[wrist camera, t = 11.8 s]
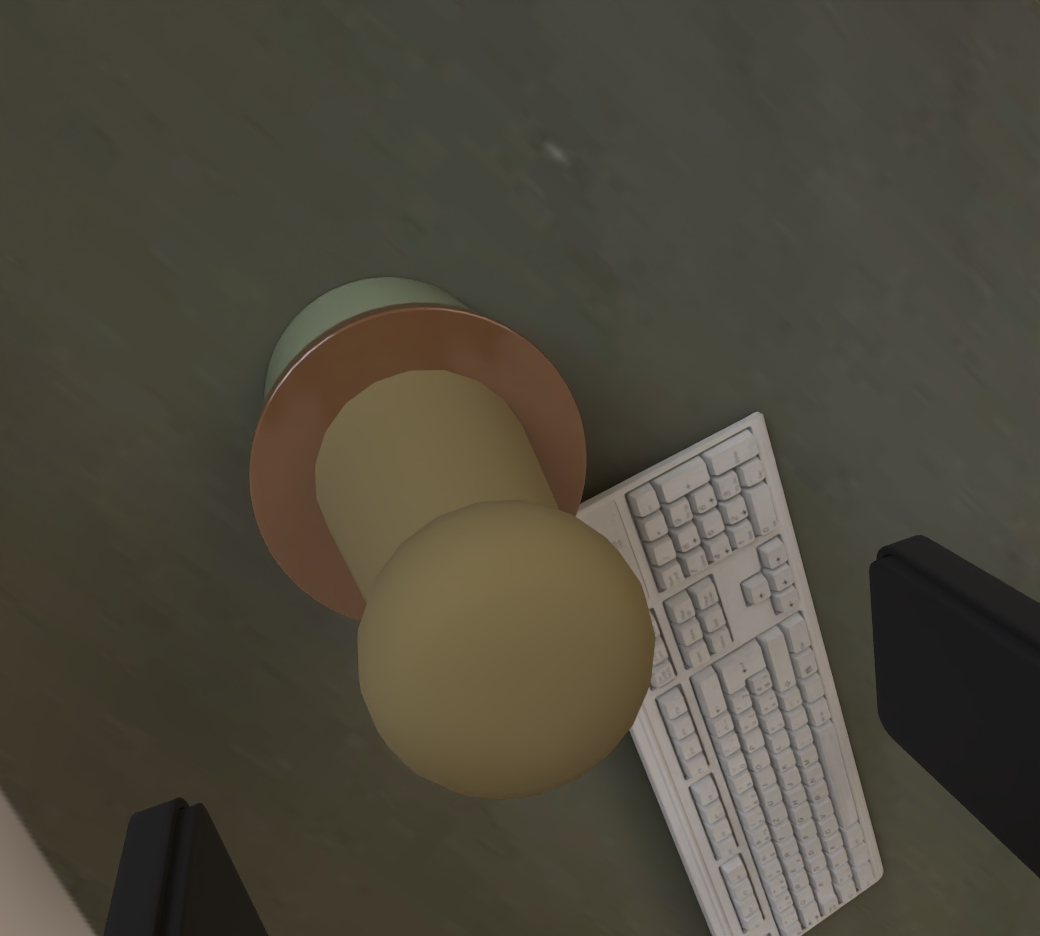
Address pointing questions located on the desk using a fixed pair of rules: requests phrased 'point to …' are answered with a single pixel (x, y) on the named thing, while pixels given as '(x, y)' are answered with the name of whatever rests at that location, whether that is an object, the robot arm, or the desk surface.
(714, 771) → the keyboard
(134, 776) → the desk surface
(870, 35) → the desk surface
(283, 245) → the desk surface
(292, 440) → the canister
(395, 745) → the brown tapered tall piece
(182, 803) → the robot arm
